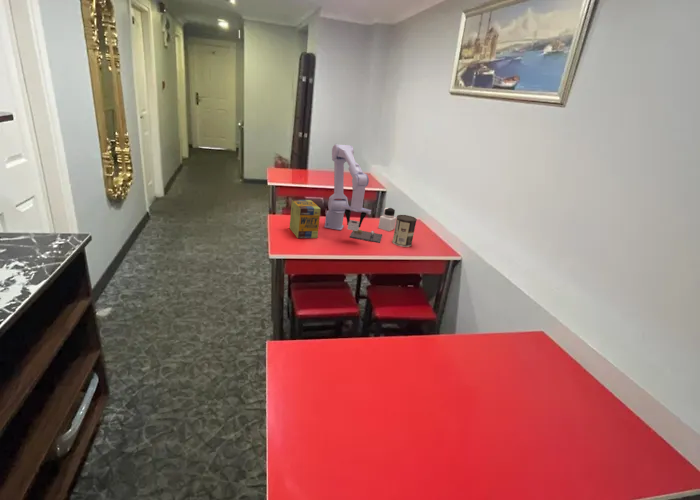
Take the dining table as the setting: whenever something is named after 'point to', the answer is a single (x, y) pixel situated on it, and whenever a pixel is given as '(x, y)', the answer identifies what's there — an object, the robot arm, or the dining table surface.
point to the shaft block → (366, 236)
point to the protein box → (304, 218)
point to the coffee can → (404, 230)
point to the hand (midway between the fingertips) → (353, 225)
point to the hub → (353, 225)
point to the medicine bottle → (387, 220)
